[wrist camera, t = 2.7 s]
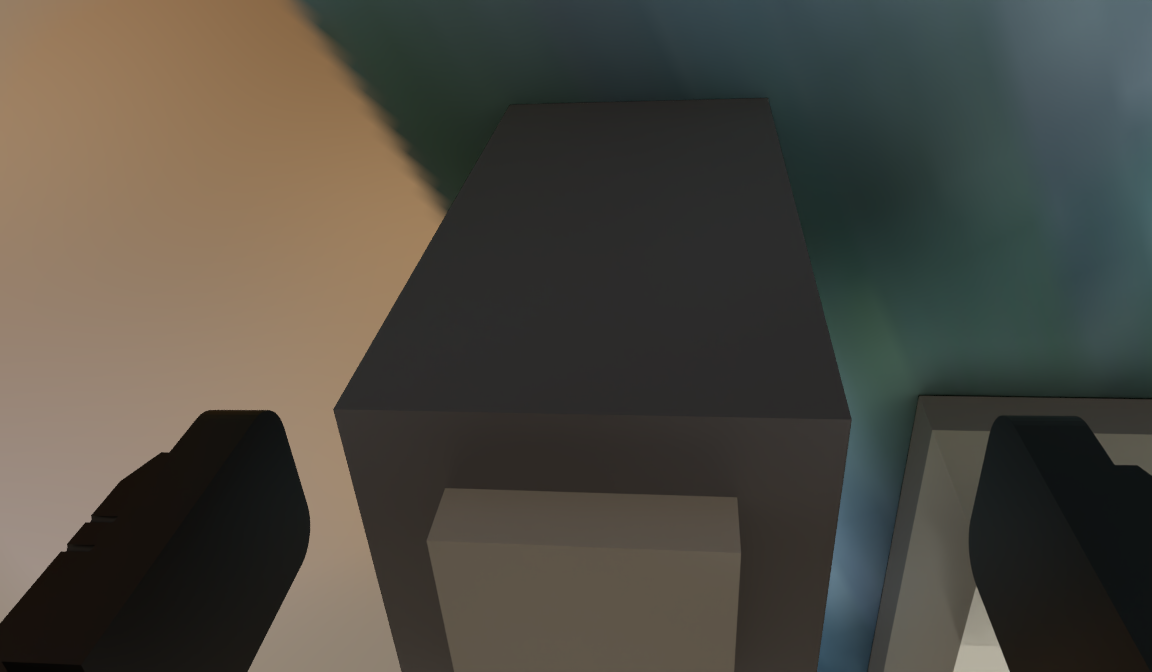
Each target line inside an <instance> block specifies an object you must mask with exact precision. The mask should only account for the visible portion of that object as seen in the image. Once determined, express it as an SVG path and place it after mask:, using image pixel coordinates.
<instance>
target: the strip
mask: <svg viewBox="0 0 1152 672" xmlns="http://www.w3.org/2000/svg"><path fill="white" fill-rule="evenodd" d="M1001 415H1014V416H1078V417H1080V418H1082V419H1083V420H1084V421H1085V422H1086V423H1087V425H1088V426H1089V427H1090V429H1091V430H1092V432H1093V433H1094V435H1095V436H1096V438H1097V439H1098V441H1099V442H1100V444H1101V445H1102V447H1103V448H1104V450H1105V451H1106V453H1107V454H1108V456H1109V457H1110V459H1111V460H1112V462H1113V463H1114V464H1115V465H1138V466H1139V467H1141V468H1142V469H1143V470H1145V471H1146V472H1148V473H1149V474H1150V475H1152V399H1091V398H1029V397H966V396H919V399H918V404H917V410H916V415H915V420H914V426H913V431H912V437H911V442H910V447H909V453H908V458H907V463H906V469H905V474H904V479H903V485H902V490H901V496H900V501H899V506H898V512H897V517H896V522H895V528H894V533H893V538H892V544H891V549H890V555H889V560H888V565H887V571H886V576H885V581H884V587H883V592H882V597H881V603H880V608H879V614H878V619H877V624H876V630H875V635H874V640H873V646H872V651H871V657H870V662H869V667H868V672H1010V671H1009V669H1008V666H1007V664H1006V661H1005V658H1004V656H1003V653H1002V651H1001V648H1000V645H999V643H998V640H997V638H996V635H995V633H994V630H993V627H992V625H991V622H990V620H989V617H988V615H987V612H986V609H985V607H984V604H983V602H982V599H981V597H980V594H979V591H978V589H977V586H976V583H975V581H974V577H973V573H972V569H971V564H970V557H969V525H970V520H971V515H972V511H973V506H974V502H975V497H976V492H977V488H978V483H979V479H980V474H981V470H982V465H983V461H984V456H985V452H986V447H987V443H988V438H989V434H990V430H991V427H992V425H993V423H994V421H995V419H996V418H997V417H999V416H1001Z"/></svg>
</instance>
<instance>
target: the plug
mask: <svg viewBox="0 0 1152 672" xmlns="http://www.w3.org/2000/svg"><path fill="white" fill-rule="evenodd" d="M333 410H334V414H335V418H336V421H337V425H338V429H339V433H340V437H341V440H342V444H343V448H344V452H345V456H346V460H347V464H348V467H349V471H350V475H351V479H352V483H353V486H354V491H355V494H356V498H357V502H358V506H359V510H360V513H361V517H362V521H363V525H364V529H365V533H366V537H367V540H368V544H369V548H370V552H371V556H372V560H373V564H374V567H375V571H376V575H377V579H378V583H379V587H380V590H381V594H382V598H383V602H384V606H385V609H386V613H387V617H388V621H389V625H390V629H391V633H392V636H393V640H394V644H395V648H396V652H397V656H398V659H399V663H400V667H401V671H402V672H817V667H818V659H819V652H820V645H821V638H822V630H823V623H824V616H825V609H826V601H827V594H828V587H829V580H830V572H831V565H832V558H833V551H834V543H835V536H836V529H837V522H838V514H839V507H840V500H841V493H842V485H843V478H844V471H845V464H846V456H847V449H848V442H849V435H850V427H851V420H852V419H851V416H850V412H849V408H848V404H847V400H846V396H845V393H844V389H843V385H842V381H841V377H840V373H839V370H838V366H837V362H836V358H835V354H834V350H833V346H832V343H831V339H830V335H829V331H828V327H827V323H826V320H825V316H824V312H823V308H822V304H821V300H820V297H819V293H818V289H817V285H816V281H815V277H814V273H813V270H812V266H811V262H810V258H809V254H808V250H807V247H806V243H805V239H804V235H803V231H802V227H801V224H800V220H799V216H798V212H797V208H796V204H795V200H794V197H793V193H792V189H791V185H790V181H789V177H788V174H787V170H786V166H785V162H784V158H783V154H782V151H781V147H780V143H779V139H778V135H777V131H776V127H775V124H774V120H773V116H772V112H771V108H770V104H769V101H768V98H745V99H707V100H668V101H630V102H592V103H554V104H515V105H509V107H508V109H507V110H506V112H505V114H504V116H503V117H502V119H501V121H500V122H499V124H498V126H497V128H496V129H495V131H494V133H493V135H492V136H491V138H490V140H489V141H488V143H487V145H486V147H485V148H484V150H483V152H482V154H481V155H480V157H479V159H478V160H477V162H476V164H475V166H474V167H473V169H472V171H471V173H470V174H469V176H468V178H467V179H466V181H465V183H464V185H463V186H462V188H461V190H460V192H459V193H458V195H457V197H456V198H455V200H454V202H453V204H452V205H451V207H450V209H449V211H448V212H447V214H446V216H445V217H444V219H443V221H442V223H441V224H440V226H439V228H438V230H437V231H436V233H435V235H434V236H433V238H432V240H431V242H430V243H429V245H428V247H427V249H426V250H425V252H424V254H423V256H422V257H421V259H420V261H419V262H418V264H417V266H416V268H415V269H414V271H413V273H412V274H411V276H410V278H409V280H408V282H407V283H406V285H405V287H404V288H403V290H402V292H401V293H400V295H399V297H398V299H397V300H396V302H395V304H394V306H393V307H392V309H391V311H390V312H389V314H388V316H387V318H386V319H385V321H384V323H383V325H382V326H381V328H380V330H379V332H378V333H377V335H376V337H375V338H374V340H373V342H372V344H371V345H370V347H369V349H368V351H367V352H366V354H365V356H364V358H363V359H362V361H361V363H360V364H359V366H358V368H357V370H356V371H355V373H354V375H353V376H352V378H351V380H350V382H349V383H348V385H347V387H346V388H345V390H344V392H343V394H342V395H341V397H340V399H339V401H338V402H337V404H336V406H335V407H334V409H333Z"/></svg>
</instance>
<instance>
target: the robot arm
mask: <svg viewBox="0 0 1152 672" xmlns="http://www.w3.org/2000/svg"><path fill="white" fill-rule="evenodd" d="M91 516H92V520H91V522H90V523H85V524H84V525H83V526H82V527H81V528H80V530H79V531H78V532H77V533H76V534H75V536H74V537H73V538H72V539H71V540H70V541H69V543H68V544H67V546H68V548H67V551H66V552H60V553H59V554H58V556H57V557H56V558H55V559H54V560H53V562H52V563H51V564H50V565H49V566H48V567H47V569H46V570H45V571H44V572H43V573H42V575H41V576H40V577H39V578H38V579H37V581H36V582H35V583H34V584H33V585H32V586H31V588H30V589H29V590H28V591H27V592H26V594H25V595H24V596H23V597H22V598H21V599H20V601H19V602H18V603H17V604H16V605H15V607H14V608H13V609H12V610H11V611H10V612H9V614H8V615H7V616H6V617H5V618H4V620H3V621H2V622H1V623H0V672H248V670H249V668H250V666H251V664H252V662H253V660H254V658H255V656H256V654H257V652H258V650H259V648H260V646H261V644H262V642H263V640H264V638H265V636H266V634H267V632H268V630H269V628H270V626H271V624H272V622H273V620H274V618H275V616H276V614H277V612H278V610H279V608H280V606H281V604H282V602H283V600H284V599H285V597H286V595H287V593H288V590H289V589H290V587H291V585H292V583H293V581H294V579H295V577H296V575H297V573H298V571H299V569H300V567H301V565H302V563H303V560H304V558H305V555H306V552H307V548H308V543H309V536H310V516H309V510H308V506H307V502H306V499H305V495H304V492H303V489H302V486H301V482H300V479H299V476H298V472H297V469H296V466H295V462H294V459H293V456H292V452H291V449H290V446H289V443H288V439H287V436H286V432H285V429H284V426H283V424H282V421H281V420H280V418H279V416H278V415H277V414H276V413H275V412H273V411H270V410H209V411H205V412H204V413H202V414H201V415H200V416H199V417H198V418H197V419H196V420H195V421H194V423H193V424H192V425H191V426H190V428H189V429H188V430H187V432H186V433H185V434H184V435H183V436H182V438H181V439H180V440H179V441H178V443H177V444H176V445H175V446H174V448H173V449H172V450H171V451H170V453H163V452H161V453H160V454H159V455H157V456H156V457H154V458H153V459H151V460H150V461H148V462H147V463H146V464H144V465H143V466H142V467H140V468H139V469H137V470H136V471H134V472H133V473H131V474H130V475H129V476H127V477H126V478H124V479H123V480H121V481H120V482H119V483H118V485H117V486H116V487H115V488H114V489H113V490H112V492H111V493H110V494H109V495H108V496H107V498H106V499H105V500H104V501H103V503H102V504H101V505H100V506H99V507H98V508H97V509H96V511H95V512H94V513H93V514H92V515H91ZM969 557H970V564H971V569H972V573H973V577H974V581H975V583H976V586H977V589H978V591H979V594H980V597H981V599H982V602H983V604H984V607H985V609H986V612H987V615H988V617H989V620H990V622H991V625H992V627H993V630H994V633H995V635H996V638H997V640H998V643H999V645H1000V648H1001V651H1002V653H1003V656H1004V658H1005V661H1006V664H1007V666H1008V669H1009V671H1010V672H1152V475H1150V474H1149V473H1148V472H1146V471H1145V470H1143V469H1142V468H1141V467H1139V466H1138V465H1115V464H1114V463H1113V462H1112V460H1111V459H1110V457H1109V456H1108V454H1107V453H1106V451H1105V450H1104V448H1103V447H1102V445H1101V444H1100V442H1099V441H1098V439H1097V438H1096V436H1095V435H1094V433H1093V432H1092V430H1091V429H1090V427H1089V426H1088V425H1087V423H1086V422H1085V421H1084V420H1083V419H1082V418H1080V417H1078V416H1014V415H1001V416H999V417H997V418H996V419H995V421H994V423H993V425H992V427H991V430H990V434H989V438H988V443H987V447H986V452H985V456H984V461H983V465H982V470H981V474H980V479H979V483H978V488H977V492H976V497H975V502H974V506H973V511H972V515H971V520H970V525H969Z"/></svg>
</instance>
